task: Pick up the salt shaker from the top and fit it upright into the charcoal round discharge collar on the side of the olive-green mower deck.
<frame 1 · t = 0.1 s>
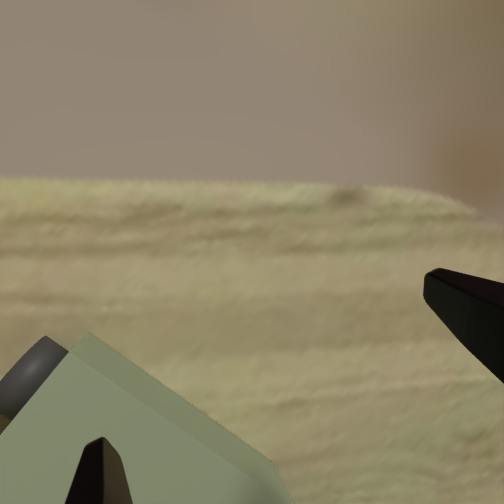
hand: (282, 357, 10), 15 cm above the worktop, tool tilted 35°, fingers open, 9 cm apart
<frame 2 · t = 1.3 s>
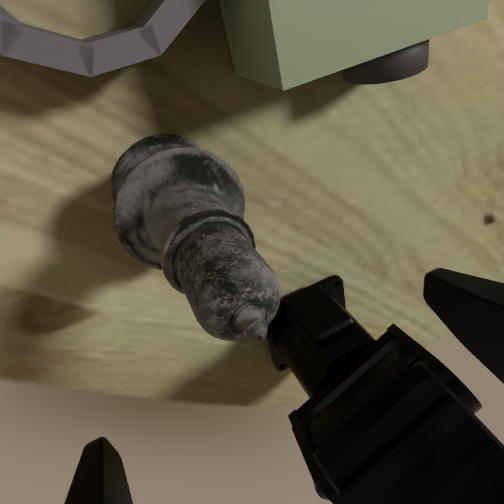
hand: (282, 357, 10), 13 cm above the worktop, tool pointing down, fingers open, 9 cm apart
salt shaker: (165, 185, 20), on the worktop
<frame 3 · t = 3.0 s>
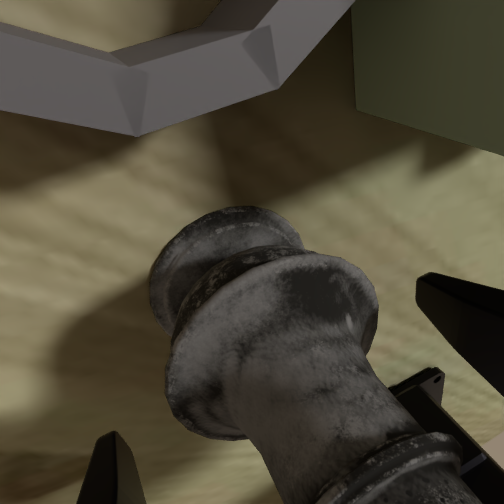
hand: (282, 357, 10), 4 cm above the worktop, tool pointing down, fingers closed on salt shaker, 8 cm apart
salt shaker: (230, 278, 13), on the worktop, touching gripper
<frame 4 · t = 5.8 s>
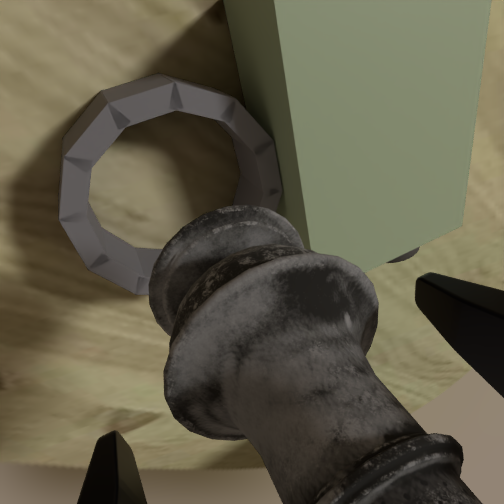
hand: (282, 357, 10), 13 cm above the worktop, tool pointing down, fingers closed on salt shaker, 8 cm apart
mower deck: (167, 181, 20), on the worktop
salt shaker: (229, 277, 13), point 9 cm above the worktop, touching gripper
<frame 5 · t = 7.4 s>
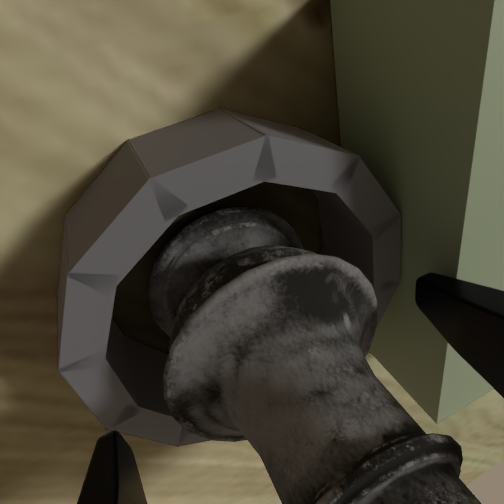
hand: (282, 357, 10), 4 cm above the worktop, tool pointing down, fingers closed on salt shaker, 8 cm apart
mower deck: (221, 264, 13), on the worktop
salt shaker: (229, 279, 13), point 1 cm above the worktop, touching gripper
when the fingers open (4 cm above the worktop, at t = 8.6 s): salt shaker stays where it is, resting in mower deck.
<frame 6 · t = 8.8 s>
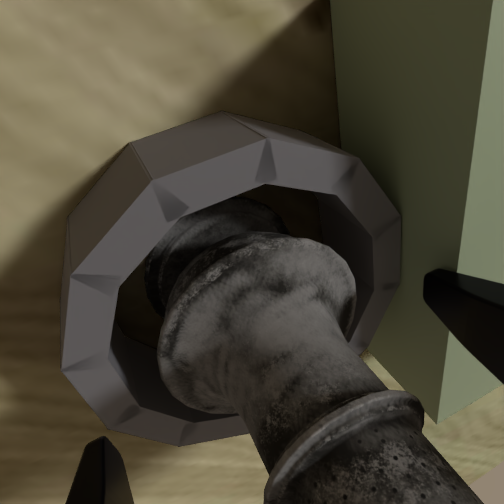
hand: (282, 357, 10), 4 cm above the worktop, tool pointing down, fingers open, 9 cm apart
mower deck: (222, 266, 13), on the worktop
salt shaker: (220, 266, 14), resting in mower deck
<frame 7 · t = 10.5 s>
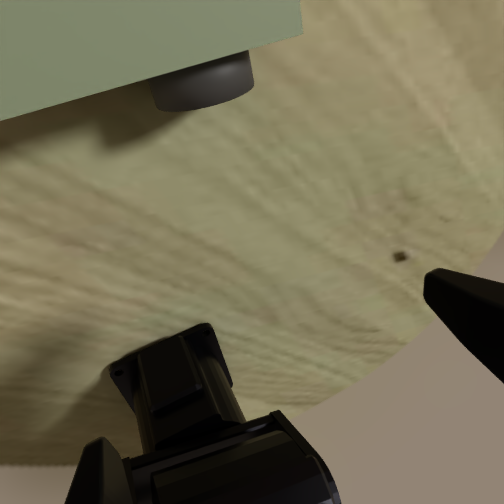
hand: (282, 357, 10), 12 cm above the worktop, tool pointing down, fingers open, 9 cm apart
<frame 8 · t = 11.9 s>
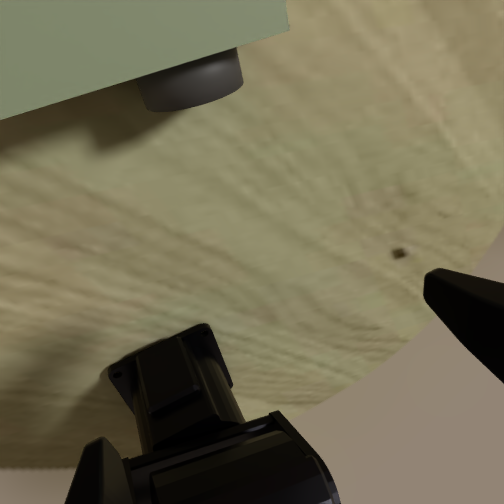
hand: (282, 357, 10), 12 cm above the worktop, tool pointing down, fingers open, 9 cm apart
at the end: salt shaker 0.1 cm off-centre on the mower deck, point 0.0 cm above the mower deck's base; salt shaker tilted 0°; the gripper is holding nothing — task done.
